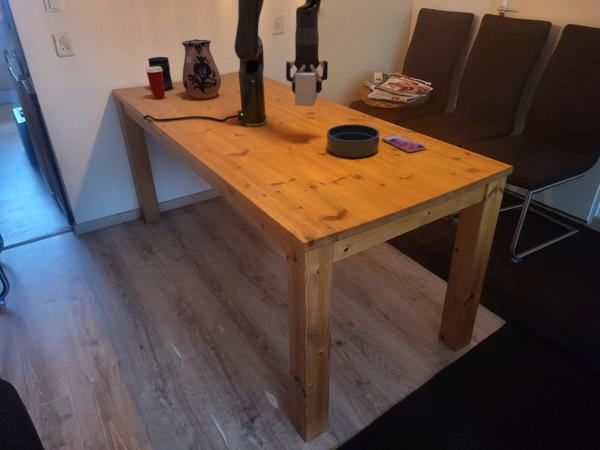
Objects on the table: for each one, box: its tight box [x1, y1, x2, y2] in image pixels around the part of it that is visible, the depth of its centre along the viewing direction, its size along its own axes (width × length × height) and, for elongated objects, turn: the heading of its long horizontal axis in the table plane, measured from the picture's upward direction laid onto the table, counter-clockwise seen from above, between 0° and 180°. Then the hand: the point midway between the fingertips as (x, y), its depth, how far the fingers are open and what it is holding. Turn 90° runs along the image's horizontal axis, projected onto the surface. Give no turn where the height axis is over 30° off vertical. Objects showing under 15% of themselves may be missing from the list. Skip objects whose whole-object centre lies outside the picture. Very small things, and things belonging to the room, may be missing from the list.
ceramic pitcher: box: [181, 38, 222, 100], centre depth 212 cm, size 18×21×25 cm
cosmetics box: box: [294, 68, 319, 107], centre depth 153 cm, size 10×6×10 cm, turn 170°
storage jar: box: [147, 56, 174, 92], centre depth 228 cm, size 10×10×15 cm
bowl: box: [326, 123, 381, 159], centre depth 151 cm, size 17×17×6 cm
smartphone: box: [381, 134, 426, 153], centre depth 155 cm, size 7×1×15 cm
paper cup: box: [145, 66, 166, 101], centre depth 213 cm, size 8×8×14 cm
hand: (306, 93), depth 154 cm, fingers closed on cosmetics box, 7 cm apart
